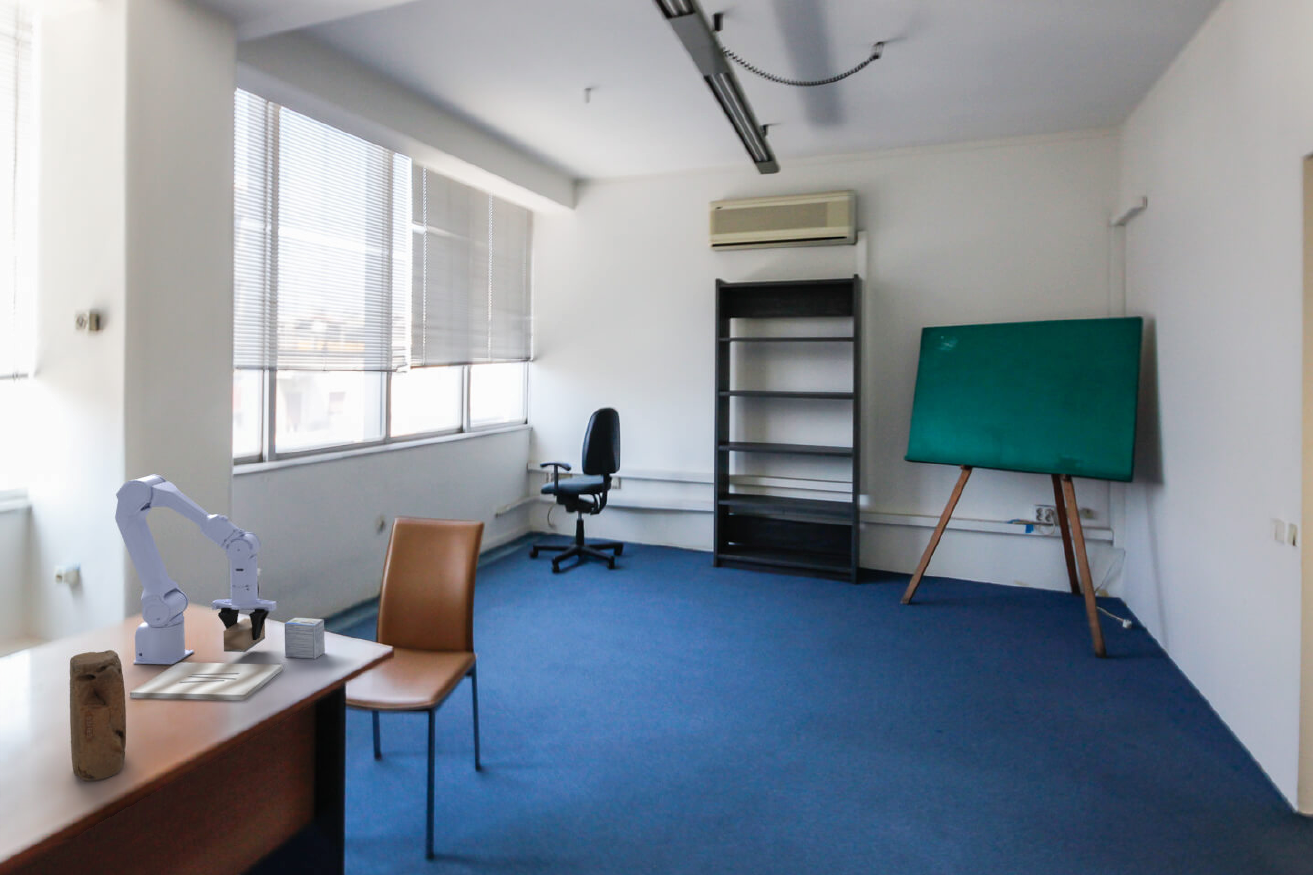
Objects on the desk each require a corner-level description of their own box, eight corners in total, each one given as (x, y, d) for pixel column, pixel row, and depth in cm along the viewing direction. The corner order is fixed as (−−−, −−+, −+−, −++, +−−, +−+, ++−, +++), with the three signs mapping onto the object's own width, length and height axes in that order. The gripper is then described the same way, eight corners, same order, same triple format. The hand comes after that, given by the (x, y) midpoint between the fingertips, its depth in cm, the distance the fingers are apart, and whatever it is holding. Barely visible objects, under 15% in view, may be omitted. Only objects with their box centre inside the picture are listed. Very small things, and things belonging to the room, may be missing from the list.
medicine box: (325, 652, 179) (325, 618, 179) (315, 659, 175) (314, 624, 174) (295, 650, 180) (294, 616, 179) (284, 657, 176) (283, 622, 175)
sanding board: (129, 697, 152) (129, 691, 152) (179, 667, 168) (178, 662, 168) (244, 700, 153) (244, 694, 152) (282, 669, 169) (282, 664, 168)
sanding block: (223, 651, 172) (223, 631, 171) (244, 637, 181) (244, 618, 180) (245, 652, 172) (244, 631, 171) (265, 638, 181) (264, 618, 180)
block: (71, 762, 127) (66, 652, 125) (123, 749, 132) (119, 643, 130) (74, 790, 119) (69, 672, 117) (130, 774, 124) (126, 661, 122)
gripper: (203, 587, 171) (204, 643, 172) (265, 589, 171) (266, 645, 172) (221, 579, 178) (222, 633, 179) (280, 581, 178) (281, 634, 179)
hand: (244, 638), depth 176 cm, fingers closed on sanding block, 5 cm apart
